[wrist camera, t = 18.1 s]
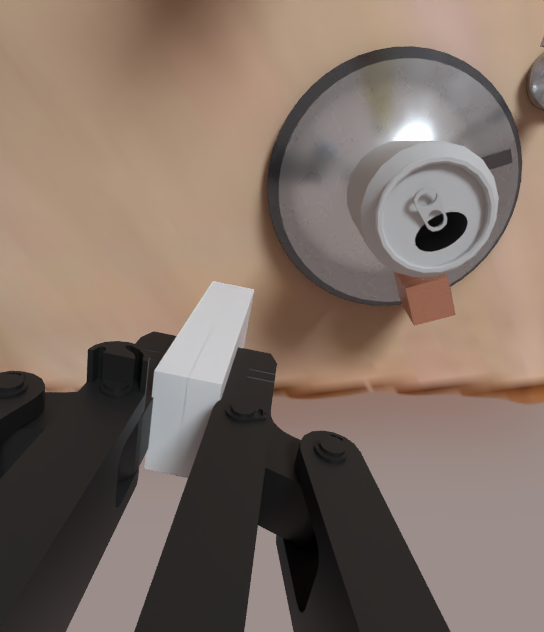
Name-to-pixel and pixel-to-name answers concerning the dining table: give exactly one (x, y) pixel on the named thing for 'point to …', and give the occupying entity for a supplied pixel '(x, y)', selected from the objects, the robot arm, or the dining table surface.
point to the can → (422, 205)
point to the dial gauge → (536, 81)
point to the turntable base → (315, 93)
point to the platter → (359, 139)
